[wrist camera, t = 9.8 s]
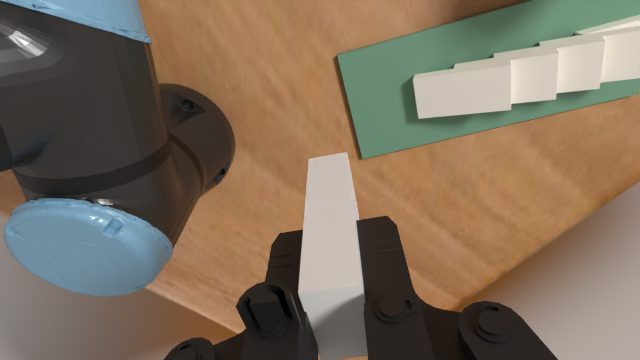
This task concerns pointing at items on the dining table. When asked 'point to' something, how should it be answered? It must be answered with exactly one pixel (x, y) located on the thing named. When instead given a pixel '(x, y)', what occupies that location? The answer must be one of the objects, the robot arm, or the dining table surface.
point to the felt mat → (458, 47)
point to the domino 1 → (464, 90)
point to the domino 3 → (574, 63)
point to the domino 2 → (529, 74)
